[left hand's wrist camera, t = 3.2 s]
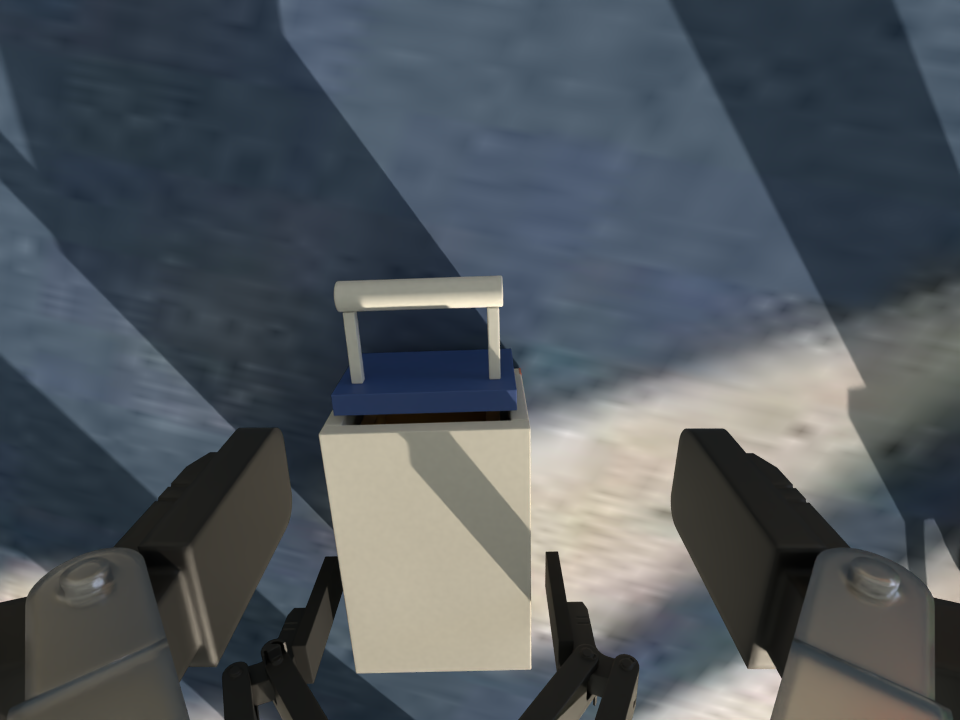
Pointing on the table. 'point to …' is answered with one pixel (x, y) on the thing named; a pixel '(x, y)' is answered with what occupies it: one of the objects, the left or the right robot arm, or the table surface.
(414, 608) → the cabinet
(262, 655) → the right robot arm
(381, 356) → the drawer
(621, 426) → the table surface
